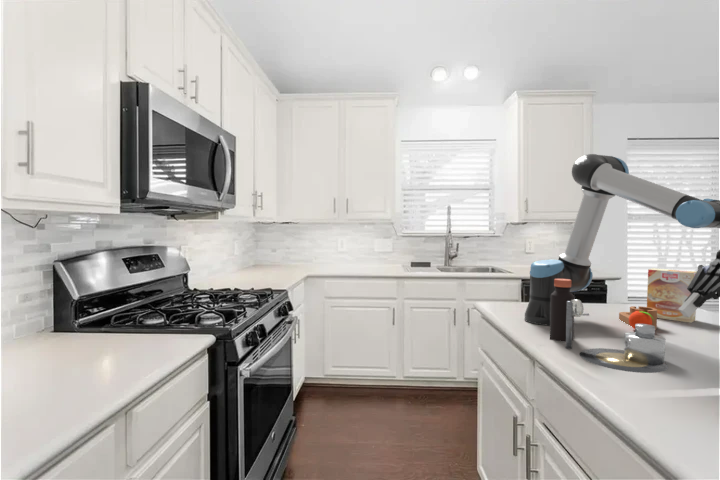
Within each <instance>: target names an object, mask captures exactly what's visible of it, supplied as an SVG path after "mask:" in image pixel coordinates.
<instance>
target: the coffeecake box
mask: <svg viewBox="0 0 720 480" xmlns="http://www.w3.org/2000/svg"><path fill="white" fill-rule="evenodd" d="M697 271H698V270H695V271H693V270H680V269H666V268H655V267H652V268H648V270H647V290H646V292H647V293H646V294H647V295H646V307H650V308H655V309H657V319H661V320H668V321H669V320H670V321H675V322H683V323H690V324H692V323H693V322H695V321H696V318H697V317H696V316H697V315H696V313H697V311H696V310H697V309H696V310H695V312H694V313H693V314H692V315H691V316H690V317H685V316H684V315H683V314H682V313H681V312H680V311H679V310H678V309H679V308H680V307H681V306H682V305H683V304H684V303H685V300H686V299H687V298H688V296H689V295H690V294H691V293H690V292H689V290H688V289H687V288H688V286H689V284H690V283H691V281H692V279H693V278H694V276H695V274H696V273H697Z"/></svg>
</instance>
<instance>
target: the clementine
mask: <svg viewBox="0 0 720 480" xmlns="http://www.w3.org/2000/svg"><path fill="white" fill-rule="evenodd" d="M649 315H650V314H649V313H647V312H643V311H635V312H633V313H632V314H631V315H630V316H629V323H630V325H631V326H632V327H631V326H630V327H631V328H633V330H635V324H648V325H652V319H651V317H652V316H651V315H650V316H651V317H650V316H649ZM652 318H653V317H652ZM653 320H654V319H653Z"/></svg>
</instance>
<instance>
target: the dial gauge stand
mask: <svg viewBox="0 0 720 480" xmlns="http://www.w3.org/2000/svg"><path fill="white" fill-rule="evenodd" d="M584 310H585V309H584V304H583V302H582V301H581V300H580V299H577V298H576V299H575V298H574V299H573V300H571V301H567V313H566V342H565V349H567V350H572V348H573V341H572V319H573V316H574V318H579V317H583V316H584V317H585V316H586V317H588V316H590V312H589V313H584Z"/></svg>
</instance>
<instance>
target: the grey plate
mask: <svg viewBox="0 0 720 480" xmlns="http://www.w3.org/2000/svg"><path fill="white" fill-rule="evenodd" d="M579 357H581V358H582V359H583V360H585V361H586V362H589V363H592V364H593V365H597V366H600V367H603V368H607V369H612V370H616V371H622V372H630V373H640V374H642V373H643V374H645V373H646V374H648V373H649V374H651V373H653V374H654V373H661V372H665V371H666V370H668V367H669V366H668V365H667V363H666V362H664V363H663V364H647V363H641V362H636V361H633V360H630V359H627V358H626V357H625V356H624V350H622V349H615V348H614V349H613V348H603V347H602V348H601V347H600V348H588V349H587V348H586V349H583V350H581V351H580V352H579Z"/></svg>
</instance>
